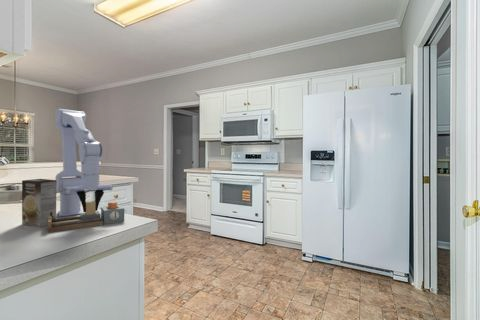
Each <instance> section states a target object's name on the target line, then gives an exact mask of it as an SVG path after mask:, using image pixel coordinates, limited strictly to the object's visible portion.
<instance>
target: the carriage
mask: <svg viewBox="0 0 480 320" xmlns="http://www.w3.org/2000/svg"><path fill="white" fill-rule="evenodd" d="M79 216H80V220H86V219H94V218H101V212H100V211H99V210H97V211H96V202H95V200H86V212H82V213H80V214H79Z"/></svg>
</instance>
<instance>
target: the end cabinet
mask: <svg viewBox="0 0 480 320" xmlns="http://www.w3.org/2000/svg"><path fill="white" fill-rule="evenodd" d="M100 214H101V218H102V217H103V225H106V224H113V223H114V224H115V223H121V222H125V207H124V206H123V205H119V204H117V208H116V209H108V205H107V206H101V207H100Z"/></svg>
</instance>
